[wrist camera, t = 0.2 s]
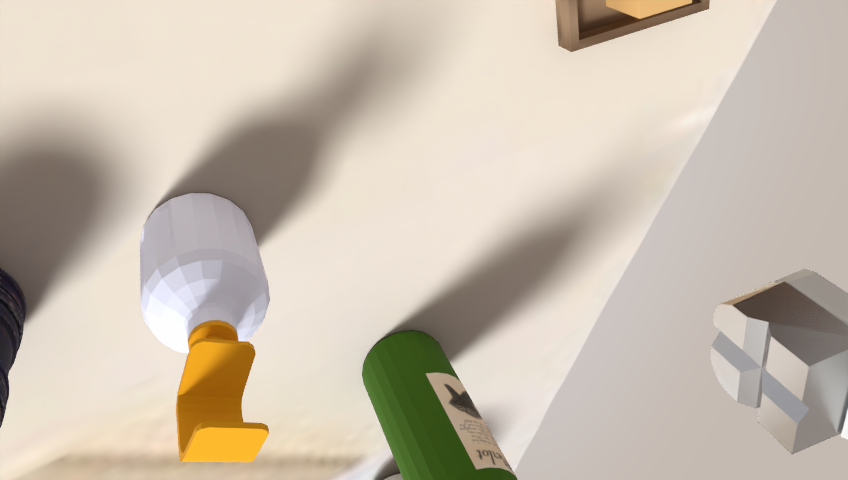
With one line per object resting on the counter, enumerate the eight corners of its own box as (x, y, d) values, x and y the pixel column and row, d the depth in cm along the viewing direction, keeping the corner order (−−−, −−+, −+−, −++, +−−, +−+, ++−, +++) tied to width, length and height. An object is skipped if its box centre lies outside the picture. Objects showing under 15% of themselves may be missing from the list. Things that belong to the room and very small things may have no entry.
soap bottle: (263, 200, 59) (327, 390, 39) (237, 289, 63) (284, 505, 43) (153, 180, 55) (161, 380, 35) (131, 276, 58) (128, 508, 39)
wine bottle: (455, 340, 75) (628, 619, 48) (414, 402, 77) (557, 700, 51) (387, 319, 70) (537, 615, 44) (346, 386, 73) (464, 704, 46)
